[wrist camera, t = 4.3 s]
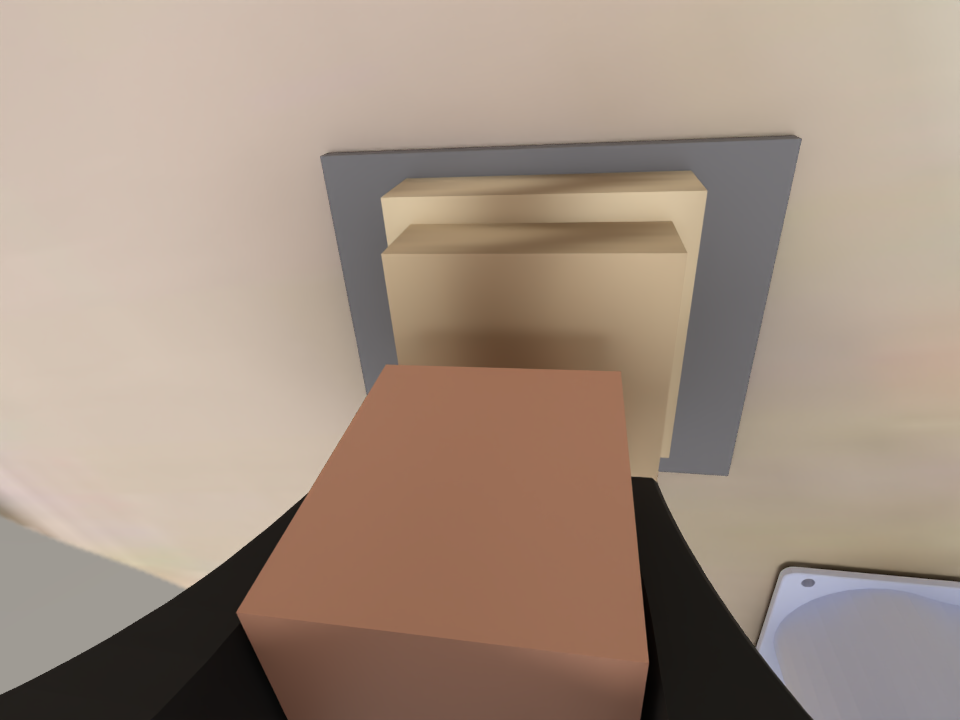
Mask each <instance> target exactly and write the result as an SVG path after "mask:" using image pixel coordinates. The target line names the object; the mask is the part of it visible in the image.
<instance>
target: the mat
mask: <svg viewBox="0 0 960 720" xmlns="http://www.w3.org/2000/svg"><path fill="white" fill-rule="evenodd" d="M801 140H802V139H801V138H799V137H797V136H768V137H741V138H715V139H688V140H662V141H635V142H608V143H582V144H555V145H528V146H502V147H475V148H448V149H422V150H395V151H368V152H342V153H327V154H324V155H322V156H320V158H321V163H322V168H323V173H324V178H325V183H326V189H327V194H328V199H329V204H330V209H331V214H332V219H333V224H334V229H335V234H336V240H337V245H338V250H339V255H340V260H341V265H342V270H343V275H344V280H345V286H346V291H347V296H348V301H349V306H350V311H351V316H352V321H353V326H354V331H355V337H356V342H357V347H358V352H359V357H360V362H361V367H362V372H363V377H364V382H365V388H366V393H367V395H368V393H369V392H370V390H371V388H372V387H373V385H374V383H375V382H376V380H377V378H378V377H379V375H380V373H381V372H382V370H383V368H384V367H385V365H398V359H397V352H396V346H395V340H394V333H393V327H392V320H391V314H390V308H389V301H388V295H387V288H386V282H385V276H384V269H383V263H382V256H381V254H382V253H383V252H384V251H385V250H386V248H387V247H388V244H387V237H386V230H385V224H384V217H383V210H382V204H381V197H382V196H384V195H385V194H386V193H388V192H389V191H390V190H392V189H393V188H394V187H396V186H397V185H398V184H400V183H401V182H402V181H404V180H405V179H406V178H440V177H476V176H512V175H548V174H584V173H620V172H655V171H692V172H693V173H694V175H695V176H696V177H697V178H698V180H699V181H700V182H701V183H702V184H703V186H704V187H705V188H706V189H707V198H706V205H705V212H704V219H703V226H702V233H701V240H700V247H699V253H698V260H697V267H696V274H695V281H694V288H693V295H692V302H691V309H690V316H689V323H688V329H687V336H686V343H685V350H684V357H683V364H682V371H681V378H680V385H679V392H678V399H677V406H676V412H675V419H674V426H673V433H672V440H671V447H670V454H669V458H662V457H660V462H659V470H658V471H660V472H675V473H690V474H705V475H721V476H728V474H729V469H730V465H731V460H732V456H733V451H734V446H735V442H736V437H737V433H738V428H739V424H740V419H741V414H742V410H743V405H744V401H745V396H746V392H747V387H748V382H749V378H750V373H751V369H752V364H753V360H754V355H755V350H756V346H757V341H758V337H759V332H760V328H761V323H762V318H763V314H764V309H765V305H766V300H767V296H768V291H769V286H770V282H771V277H772V273H773V268H774V264H775V259H776V254H777V250H778V245H779V241H780V236H781V232H782V227H783V222H784V218H785V213H786V209H787V204H788V200H789V195H790V190H791V186H792V181H793V177H794V172H795V168H796V163H797V158H798V154H799V149H800V145H801Z"/></svg>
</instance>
